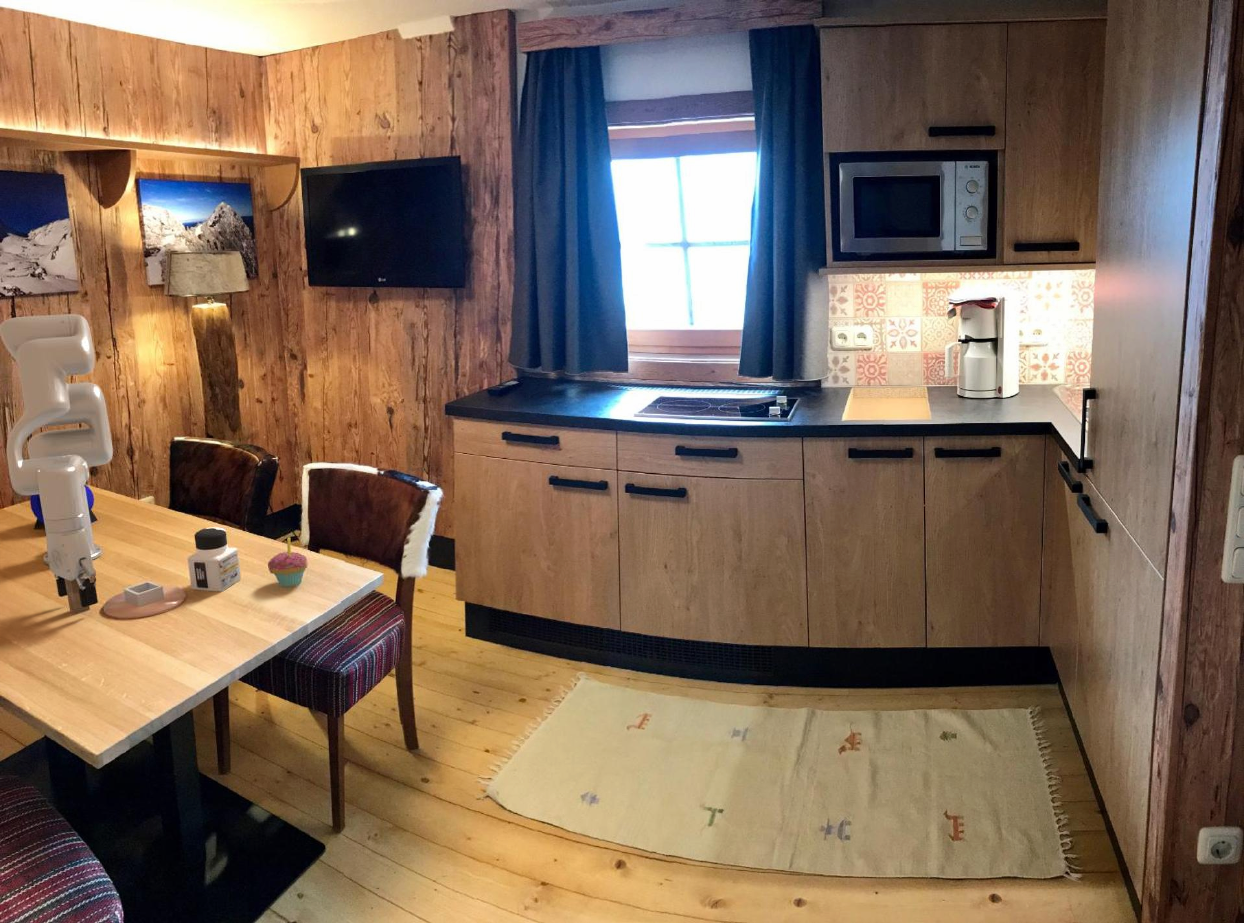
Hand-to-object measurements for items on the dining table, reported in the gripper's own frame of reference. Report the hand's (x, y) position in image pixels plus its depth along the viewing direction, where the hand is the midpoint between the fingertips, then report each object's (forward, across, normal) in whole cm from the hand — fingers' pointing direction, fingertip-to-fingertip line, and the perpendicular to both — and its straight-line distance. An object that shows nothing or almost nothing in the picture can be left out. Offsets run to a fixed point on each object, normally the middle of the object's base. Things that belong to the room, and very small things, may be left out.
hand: (78, 599), depth 209 cm
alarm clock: (+3, -62, +27) cm, 68 cm away
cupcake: (+3, +24, +35) cm, 43 cm away
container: (+3, +11, +25) cm, 27 cm away
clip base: (+2, +8, +10) cm, 13 cm away
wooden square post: (+2, 0, 0) cm, 2 cm away
